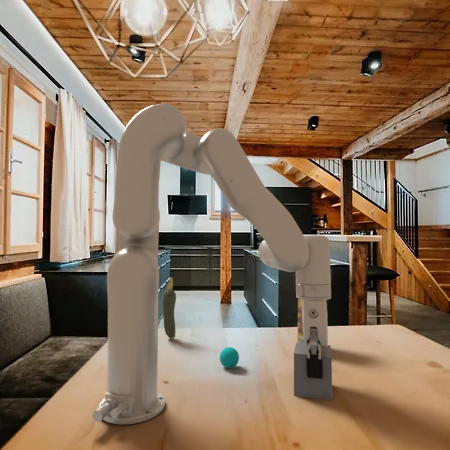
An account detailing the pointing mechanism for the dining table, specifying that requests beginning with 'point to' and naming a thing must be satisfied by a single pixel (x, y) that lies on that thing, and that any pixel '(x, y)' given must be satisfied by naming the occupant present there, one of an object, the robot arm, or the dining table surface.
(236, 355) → the ball
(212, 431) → the dining table surface
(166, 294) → the vegetable
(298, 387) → the matte grey box
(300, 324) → the candy box
